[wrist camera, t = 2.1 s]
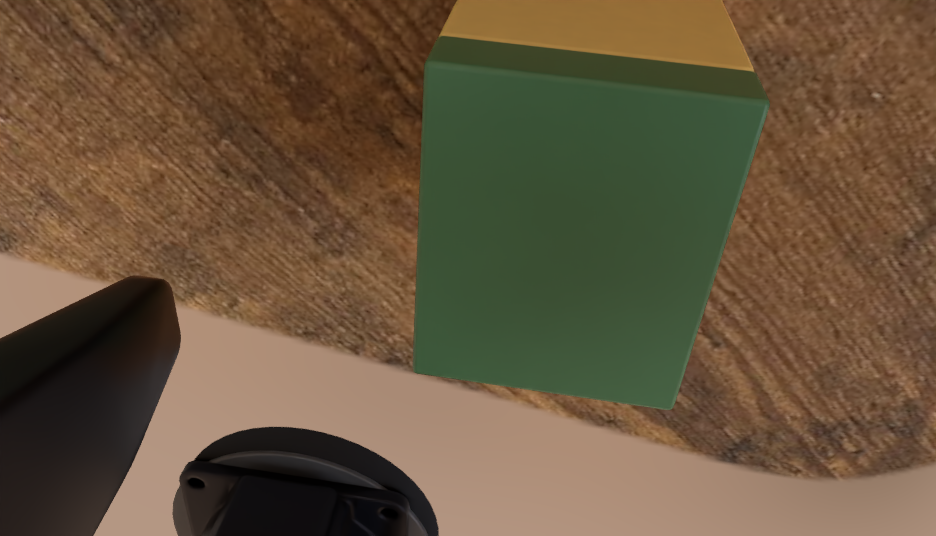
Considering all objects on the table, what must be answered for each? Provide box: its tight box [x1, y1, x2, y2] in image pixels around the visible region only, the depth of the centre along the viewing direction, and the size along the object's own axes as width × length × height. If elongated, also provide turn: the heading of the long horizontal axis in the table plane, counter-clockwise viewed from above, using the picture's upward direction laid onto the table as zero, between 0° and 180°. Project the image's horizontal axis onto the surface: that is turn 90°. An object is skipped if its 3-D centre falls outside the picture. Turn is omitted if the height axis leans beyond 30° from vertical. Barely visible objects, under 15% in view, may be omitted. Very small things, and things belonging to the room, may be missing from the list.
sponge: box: [413, 0, 770, 410], centre depth 12 cm, size 5×4×5 cm
